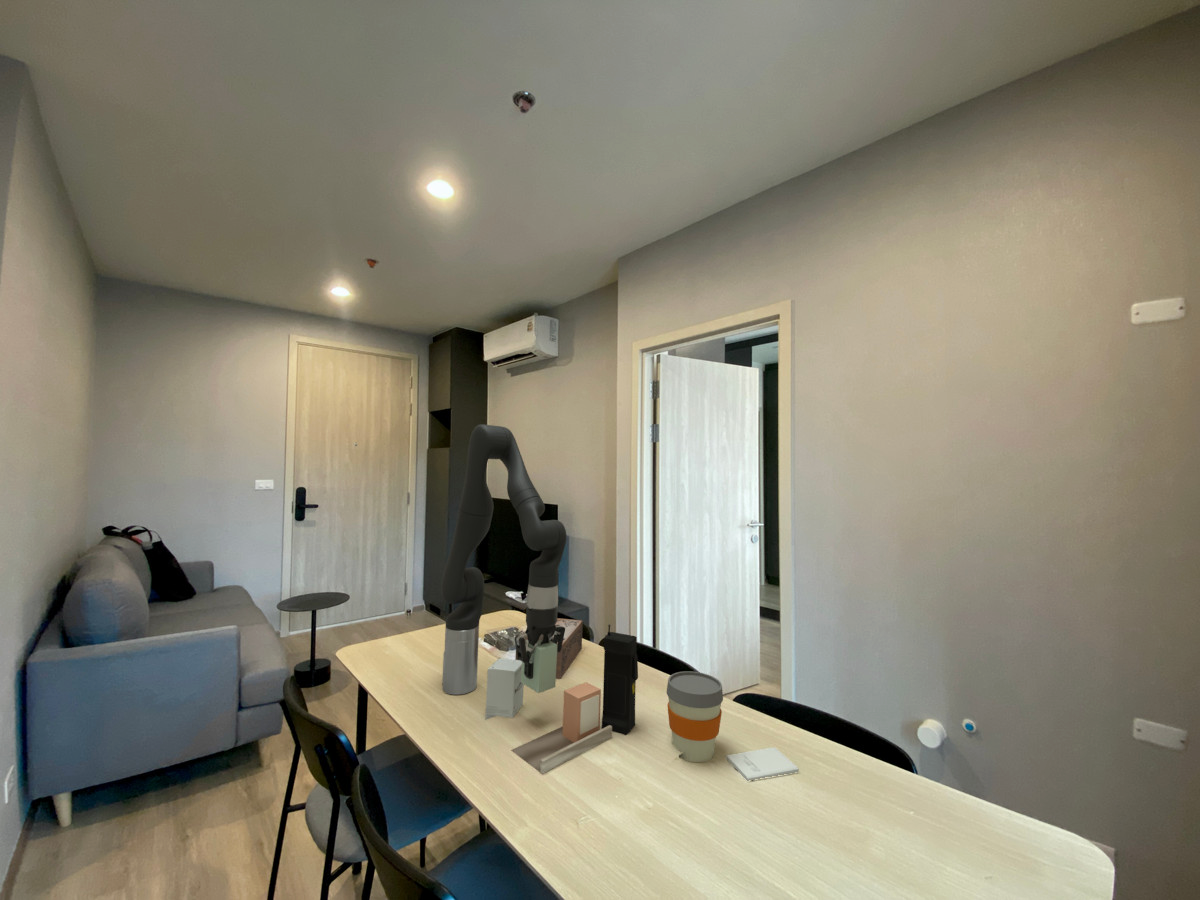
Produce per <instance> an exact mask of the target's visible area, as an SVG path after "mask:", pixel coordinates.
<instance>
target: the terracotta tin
mask: <svg viewBox="0 0 1200 900" xmlns="http://www.w3.org/2000/svg"><path fill="white" fill-rule="evenodd" d="M601 696H602V689H601V688H599V687H597V686H595V685H593V684H591V683H589V682H587V681H586V682H583V683H581V684H580V683H579V684H577V685H575V686H573V687H571V688H567V689H565V690H563V710H562V711H563V712H562V713H563V715H562V726H563V736H564V737H566V738H567V739H569V740H570V741H572V742H573V743H575V742H577V741H579V740H581V739H583V738H585V737H587V736H589V735H591V734H593V733H595V732H597V731H599V730H601V727H600V726H601V701H602V700H601Z"/></svg>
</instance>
